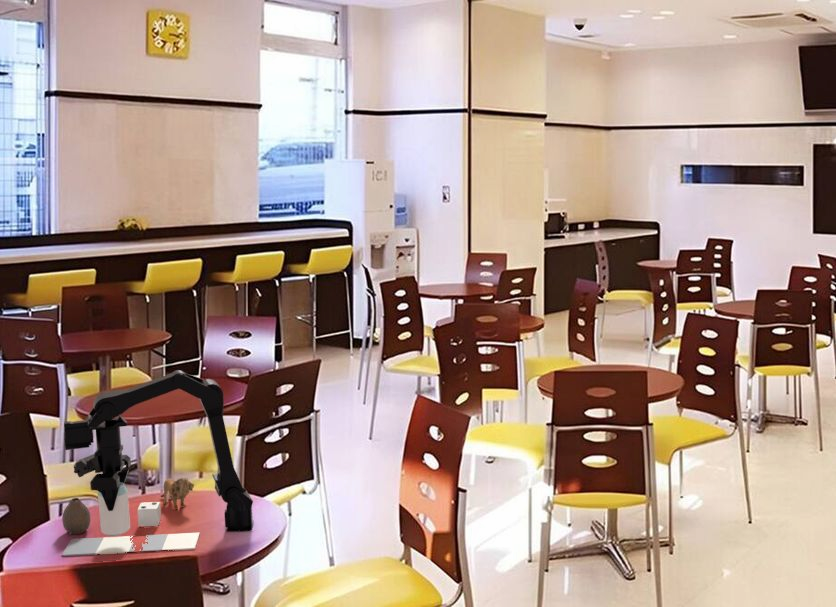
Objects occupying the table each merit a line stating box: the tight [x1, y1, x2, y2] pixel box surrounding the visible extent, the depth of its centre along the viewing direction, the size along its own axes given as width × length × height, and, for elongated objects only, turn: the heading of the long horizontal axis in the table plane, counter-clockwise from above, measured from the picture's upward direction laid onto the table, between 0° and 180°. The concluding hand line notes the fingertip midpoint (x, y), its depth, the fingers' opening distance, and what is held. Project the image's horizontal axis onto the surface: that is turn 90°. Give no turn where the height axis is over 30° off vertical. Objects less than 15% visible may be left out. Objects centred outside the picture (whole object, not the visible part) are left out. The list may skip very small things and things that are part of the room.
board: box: [61, 532, 201, 557], centre depth 258 cm, size 32×10×1 cm, turn 95°
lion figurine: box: [160, 477, 195, 510], centre depth 285 cm, size 15×5×9 cm, turn 46°
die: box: [137, 501, 162, 527], centre depth 272 cm, size 5×5×5 cm
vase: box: [61, 497, 91, 536], centre depth 267 cm, size 7×7×9 cm
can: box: [97, 482, 131, 537], centre depth 256 cm, size 7×7×12 cm
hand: (113, 505), depth 256 cm, fingers closed on can, 7 cm apart
